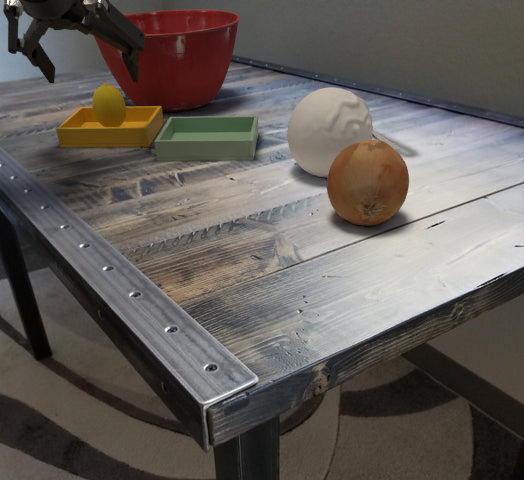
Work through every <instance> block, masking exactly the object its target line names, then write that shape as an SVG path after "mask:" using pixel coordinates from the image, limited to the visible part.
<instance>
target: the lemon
mask: <svg viewBox="0 0 524 480" xmlns="http://www.w3.org/2000/svg"><path fill="white" fill-rule="evenodd" d="M92 107H93V111H94V114H95V117H96V119H97V121H98V122H99V123H100V124H101V125H102V126H104V127H119V126H121V125H122V124H123V122H124V121H125V118H126V107H127V106H126V102H125V98H124V96H123V94H122V93H121V91H120V90H119V89H118V88H116V87H115V86H114V85H111V84H109V83H108V82H103V83H102V84H101V85H100V86H98V87H97V88H96V89H95V90H94V92H93V96H92Z"/></svg>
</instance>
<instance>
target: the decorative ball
mask: <svg viewBox="0 0 524 480" xmlns="http://www.w3.org/2000/svg"><path fill="white" fill-rule="evenodd" d="M373 130H374V128H373V118H372V115H371V113H370V108H369V105H368V103H367V102H366V101H365V100H364V99H363V98H362V97H360V96H358V95H357V94H355V93H353V92H351V91H349V90H347V89H345V88H340V87H332V86H331V87H330V86H329V87H324V88H319V89H316V90H314V91H312V92H310V93H308V94H307V95H306V96H304V97H303V98H302V99H301V100H300V101H299V102H298V103H297V104H296V106H295V107H294V109H293V111H292V112H291V115H290V117H289V120H288V124H287V131H286V132H287V133H286V135H287V145H288V149H289V151H290V154H291V156H292V158H293V160H294V161H295V162H296V163H297V165H298V166H299V167H300V168H301V169H302V170H304V171H305V172H307V173H308V174H310V175H311V176H312V175H313V176H315V177H318V178H323V179H324V178H325V179H327V178H328V174H329V170H330V167H331V165H332V163H333V161H334V159H335V158H336V156H337V155H338V154H339V153H340V152H341V151H342V150H343V149H345V148H346V147H348V146H350V145H352V144H355V143H358V142H361V141H365V140H373V134H372V131H373Z"/></svg>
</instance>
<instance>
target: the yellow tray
mask: <svg viewBox="0 0 524 480" xmlns="http://www.w3.org/2000/svg"><path fill="white" fill-rule="evenodd" d="M163 113H164V112H162V106H138V105H136V106H126V118H125V121H124V122H123V124H122V125H121V126H119V127H104V126H102V125H101V124H100V123H99V122H98V121H97V119H96V117H95V114H94V111H93V106H80V107H78V109H77V110H75V111H74V112H73V113H72V114H71V115H70V116H68V117H67V118H66V119H65V120H64V121H63V122H62V123H61V124H60V125H59V126H57V127H56V128H55V131H56V135H57V139H58V143H59V147H60V148H135V147H136V148H138V147H139V148H142V147H143V148H145V147H150V145H151V144H152V143H153V141H154V140H155V139H156V136H158V133H160V131H161V130H162V128H163V126H164V125H165V122H164V114H163Z"/></svg>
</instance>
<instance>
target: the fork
mask: <svg viewBox="0 0 524 480" xmlns="http://www.w3.org/2000/svg"><path fill="white" fill-rule="evenodd" d="M372 136H374V137H375V138H376V140H380V141H384V142H386V143H387V144H389V145H390V146H391V147H392V148H393V149H395V150H400V149H401V147H400V146H399V145H397V144H396V143H394V142H393V141H391V140H389V139H388V138H385V137H384V136H383V135H381V134H379V133H378V132H377V131H375V130H374V129H373V131H372Z"/></svg>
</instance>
